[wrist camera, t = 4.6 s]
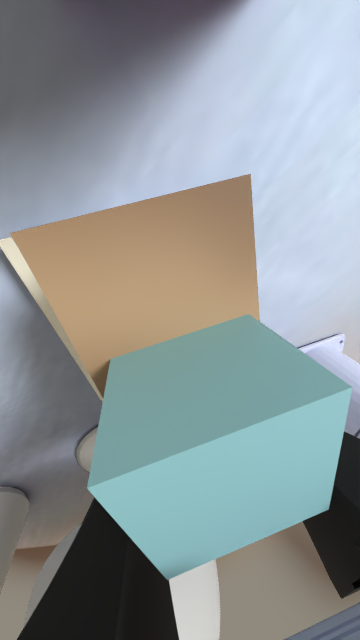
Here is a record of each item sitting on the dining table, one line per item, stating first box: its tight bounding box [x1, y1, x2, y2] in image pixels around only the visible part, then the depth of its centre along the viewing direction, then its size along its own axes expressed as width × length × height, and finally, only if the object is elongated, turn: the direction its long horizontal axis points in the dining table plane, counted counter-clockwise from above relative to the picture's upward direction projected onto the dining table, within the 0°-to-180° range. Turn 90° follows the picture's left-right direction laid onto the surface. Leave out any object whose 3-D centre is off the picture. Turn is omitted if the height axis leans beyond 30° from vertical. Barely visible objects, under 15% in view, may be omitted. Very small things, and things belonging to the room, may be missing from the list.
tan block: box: [10, 174, 260, 398], centre depth 9 cm, size 14×5×5 cm, turn 12°
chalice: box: [24, 427, 220, 640], centre depth 19 cm, size 14×14×15 cm
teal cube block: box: [87, 314, 352, 580], centre depth 5 cm, size 4×4×3 cm
